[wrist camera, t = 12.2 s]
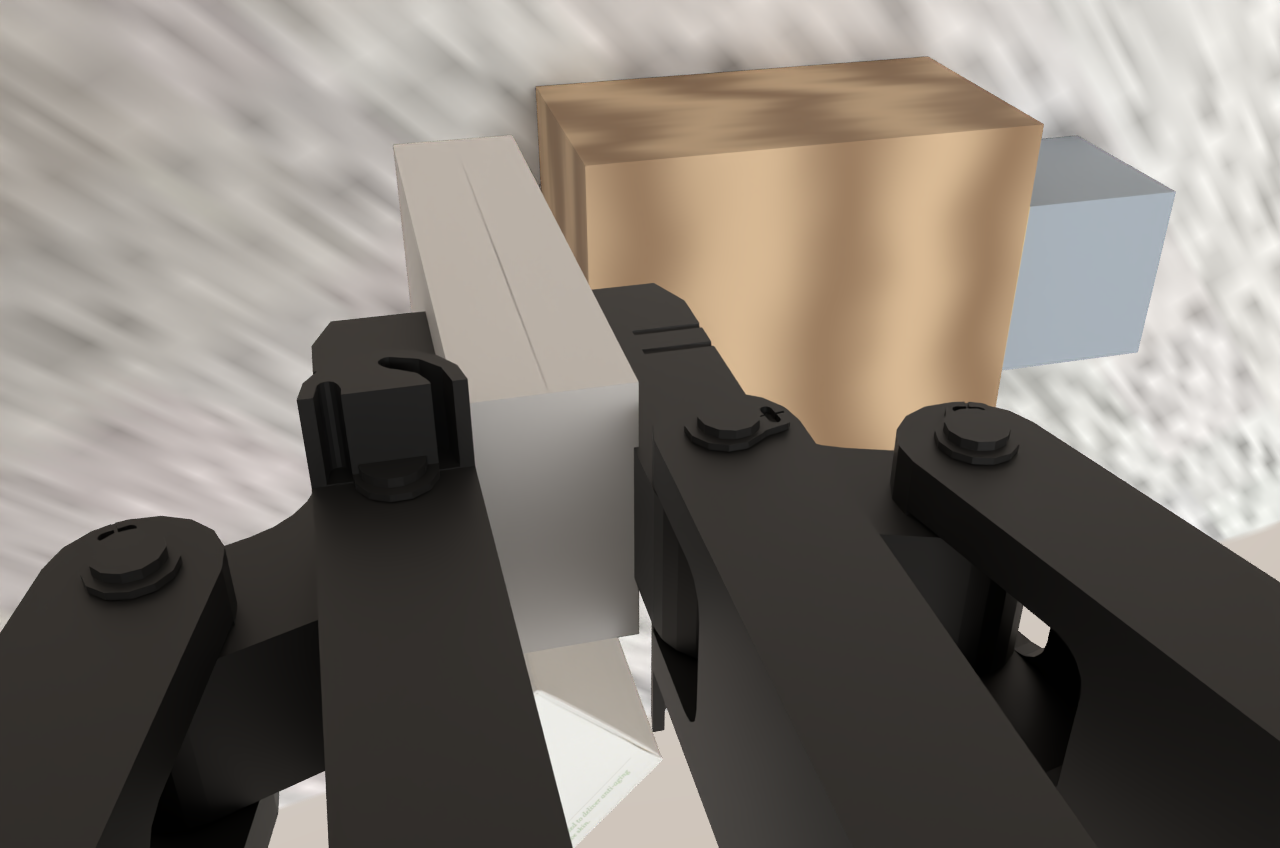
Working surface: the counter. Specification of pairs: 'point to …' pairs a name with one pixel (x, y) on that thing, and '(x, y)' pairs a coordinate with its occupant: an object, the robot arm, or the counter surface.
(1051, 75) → the counter surface
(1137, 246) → the slate-blue block
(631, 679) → the skincare box
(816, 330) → the oak plinth
